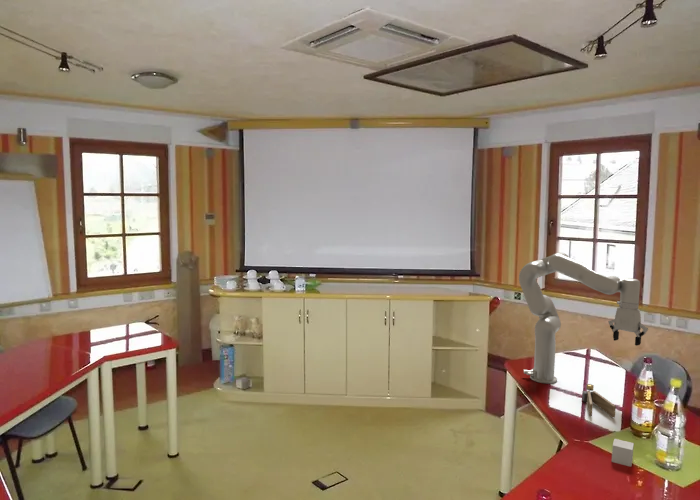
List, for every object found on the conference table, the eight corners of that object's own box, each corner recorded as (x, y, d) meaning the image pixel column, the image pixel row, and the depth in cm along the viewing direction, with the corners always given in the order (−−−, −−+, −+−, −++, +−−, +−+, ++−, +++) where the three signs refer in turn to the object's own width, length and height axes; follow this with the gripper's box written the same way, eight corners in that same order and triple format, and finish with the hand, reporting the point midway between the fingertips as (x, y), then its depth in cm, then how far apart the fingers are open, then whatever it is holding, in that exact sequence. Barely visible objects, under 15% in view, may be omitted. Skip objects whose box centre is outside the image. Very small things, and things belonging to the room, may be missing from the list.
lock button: (587, 390, 226) (587, 386, 226) (585, 388, 229) (585, 383, 229) (594, 390, 226) (594, 386, 226) (592, 388, 228) (592, 384, 228)
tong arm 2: (612, 417, 209) (613, 405, 209) (592, 402, 226) (592, 391, 225) (615, 417, 209) (615, 405, 209) (594, 402, 226) (594, 391, 225)
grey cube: (611, 462, 174) (612, 445, 174) (613, 454, 179) (614, 438, 179) (631, 467, 171) (632, 449, 170) (632, 459, 176) (633, 443, 175)
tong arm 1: (589, 415, 211) (590, 404, 210) (586, 401, 226) (587, 390, 226) (592, 416, 211) (592, 404, 210) (589, 401, 226) (589, 391, 225)
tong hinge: (583, 402, 227) (584, 392, 226) (582, 399, 230) (582, 390, 229) (596, 402, 226) (596, 393, 226) (594, 400, 229) (594, 390, 228)
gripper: (605, 303, 236) (603, 339, 237) (644, 310, 221) (642, 348, 223) (614, 301, 240) (612, 337, 241) (653, 308, 226) (650, 346, 227)
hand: (626, 342), depth 232 cm, fingers open, 9 cm apart
